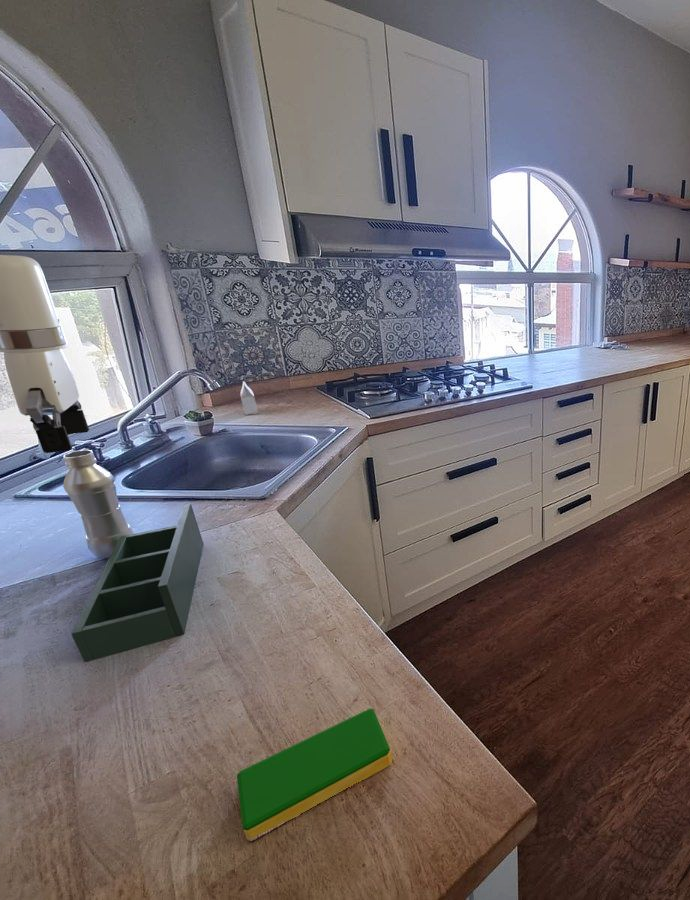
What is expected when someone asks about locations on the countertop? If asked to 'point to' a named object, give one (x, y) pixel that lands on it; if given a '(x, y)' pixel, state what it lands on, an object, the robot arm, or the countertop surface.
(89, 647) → the box
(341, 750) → the dish sponge
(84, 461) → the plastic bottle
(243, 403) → the white gabled block
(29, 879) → the countertop surface
